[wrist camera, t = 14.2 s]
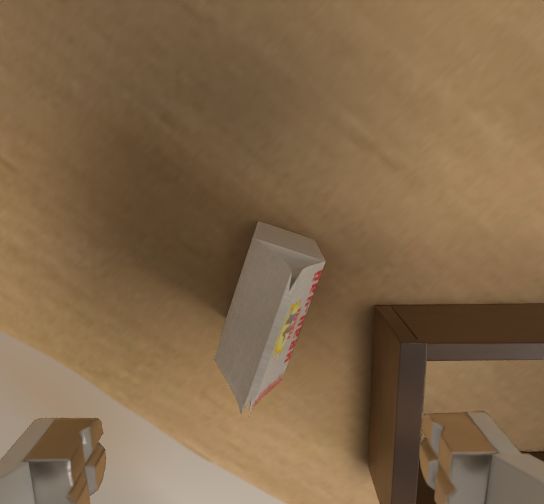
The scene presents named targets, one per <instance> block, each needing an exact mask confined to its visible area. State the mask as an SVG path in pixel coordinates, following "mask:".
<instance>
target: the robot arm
mask: <svg viewBox="0 0 544 504" xmlns="http://www.w3.org/2000/svg"><path fill="white" fill-rule="evenodd" d="M421 429H422V431H423V433H424V435H425V436H426V437H425V438H424V440H423V441H422V442H421V443H420V452H419V457H420V465H421V470H422V473H423V477H424V479H425V481H426V483H427V485H428V486H430V487H431V488H432V489H434V490H435V496H434V500H435V502H436V504H544V462H543V461H541V460H539V459H537V458H535V457H534V456H532V455H530V454H521V452H520V451H519V450H518V449H517V448H516V446H515V445H514V444H513V443H512V442H511V440H510V439H509V438H508V437H507V436H506V435H505V433H504V432H503V431H502V430H501V429H500V427H499V426H498V425H497V424H496V423H495V421H494V420H493V419H492V418H491V417H490V416H489V414H488V413H486V412H484V411H476V412H463V413H434V414H424V415H423V418H422V425H421ZM102 434H103V429H102V423H101V421H100V420H99V419H98V418H39V419H36V420H34V421H33V422H32V424H31V425H30V426H29V427H28V428H27V430H26V431H25V432H24V433H23V434H22V435H21V437H20V438H19V439H18V440H17V441H16V442H15V443H14V445H13V446H12V447H11V448H10V449H9V450H8V451H7V453H6V454H5V455H4V456H3V457H2V458H1V460H0V504H90V498H89V496H91V495H92V494H93V493H95V492H96V491H97V490H98V489H99V487H100V484H101V482H102V480H103V476H104V471H105V465H106V454H105V449H104V447H103V446H102V445H101V444H100V443H99V440H100V438H101V436H102Z"/></svg>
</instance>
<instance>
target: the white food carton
mask: <svg viewBox="0 0 544 504" xmlns="http://www.w3.org/2000/svg"><path fill="white" fill-rule="evenodd" d="M325 262H326V261H325V259H324V257H323V255H322V253H321V251H320V250H319V248H318V246H317V244H316V242H315V240H314V239H312V238H309V237H306V236H303V235H300V234H297V233H294V232H291V231H288V230H285V229H281V228H278V227H275V226H272V225H269V224H266V223H263V222H260V221H258V222H257V226H256V229H255V232H254V235H253V238H252V241H251V244H250V247H249V250H248V253H247V256H246V259H245V262H244V265H243V268H242V271H241V274H240V277H239V280H238V283H237V286H236V289H235V293H234V296H233V299H232V302H231V305H230V308H229V311H228V314H227V317H226V320H225V324H224V327H223V331H222V335H221V338H220V342H219V345H218V349H217V352H216V356H215V361H216V363H217V365H218V367H219V368H220V370H221V372H222V373H223V375H224V377H225V379H226V380H227V382H228V384H229V386H230V387H231V389H232V391H233V393H234V395H235V398H236V400H237V402H238V404H239V409H240V413H241V414H242V412H243V410H244V409H245V407H246V406H247V404H248V402H249V401H250V399H251V401H250V410H249V415H250V413H251V411H252V409H253V407H254V406H255V405H256V404H257V403H258V401H259V400H260V399H261V398H262V397H263V396H264V395H265V394H266V393H268V392H269V391H270V390H271V389H272V388H273V387H274V386H276V385H277V384H278V383H279V382H280V381H281V380H282V378H283V375H284V373H285V370H286V367H287V365H288V362H289V359H290V356H291V354H292V351H293V348H294V346H295V343H296V340H297V337H298V335H299V332H300V329H301V327H302V324H303V321H304V319H305V316H306V313H307V310H308V308H309V305H310V302H311V300H312V297H313V294H314V291H315V289H316V286H317V283H318V281H319V278H320V275H321V272H322V270H323V267H324V264H325Z"/></svg>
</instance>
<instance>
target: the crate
mask: <svg viewBox="0 0 544 504" xmlns="http://www.w3.org/2000/svg"><path fill="white" fill-rule="evenodd" d="M461 360H544V304H472V305H391V306H389V305H376V306H375V315H374V337H373V360H372V382H371V405H370V427H369V450H368V468H369V471H370V474H371V477H372V481H373V484H374V487H375V490H376V493H377V496H378V500H379V503H380V504H436V502H435V500H434V496H435V490H434V489H432V488H431V487H430V486H428V485H427V483H426V481H425V479H424V477H423V473H422V470H421V465H420V457H419V452H420V442H421V425H422V414H423V401H424V387H425V373H426V361H461ZM521 454H530V455H532V456H534V457H535V458H537V459H539V460H541V461H543V462H544V452H531V453H521Z"/></svg>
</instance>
